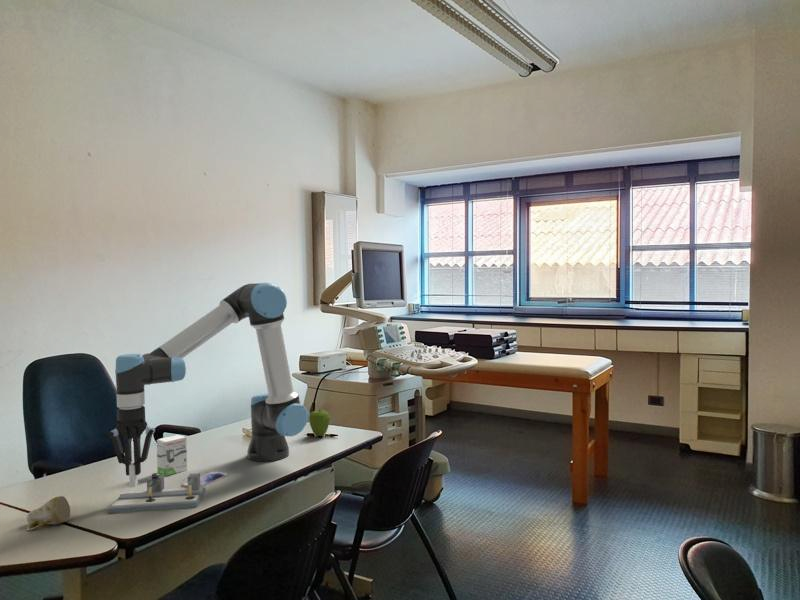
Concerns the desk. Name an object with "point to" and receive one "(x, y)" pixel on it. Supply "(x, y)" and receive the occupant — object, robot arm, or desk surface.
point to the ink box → (171, 455)
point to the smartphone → (208, 478)
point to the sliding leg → (155, 484)
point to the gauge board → (161, 498)
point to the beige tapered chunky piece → (49, 513)
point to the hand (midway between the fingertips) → (133, 485)
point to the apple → (319, 422)
